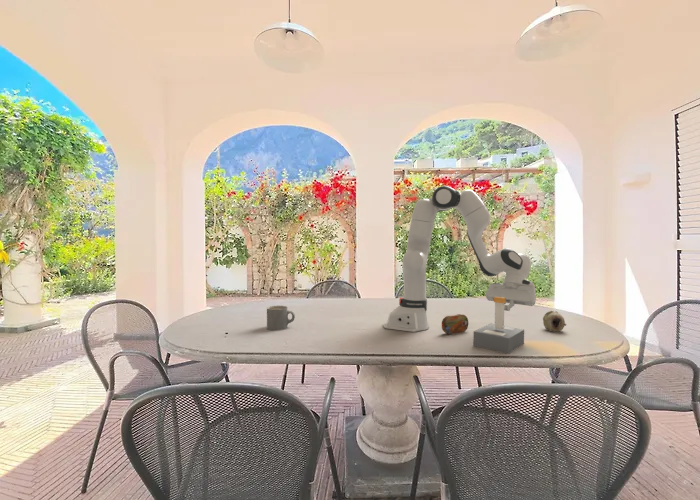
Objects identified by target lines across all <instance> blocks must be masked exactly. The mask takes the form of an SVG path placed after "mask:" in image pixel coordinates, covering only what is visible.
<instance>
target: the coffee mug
mask: <svg viewBox="0 0 700 500" xmlns="http://www.w3.org/2000/svg"><path fill="white" fill-rule="evenodd" d="M289 314H291V318H289ZM295 316H296V314H295V312H294V311H293V310H290V309H289V310H288V306H287V305H272V306H271V305H270V306H268V307H266V330H269V331H282V330H286V329H288V326H289V324H291V323H293V322H294V321H295Z"/></svg>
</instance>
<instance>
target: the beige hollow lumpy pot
mask: <svg viewBox="0 0 700 500" xmlns="http://www.w3.org/2000/svg"><path fill="white" fill-rule="evenodd" d="M542 320H543V322H542V323H543V326H544V328H545V330H548V331H550V332H557V333H558V332H560V331H563V330H564V328H565V327H566V326H567V323H566V322H565V318H564V317H563V315H562V314H561V313H559V312H558V310H557V311H556V310H555V311H554V310H549V311H547V312H545V314H544V315H543V316H542Z"/></svg>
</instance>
